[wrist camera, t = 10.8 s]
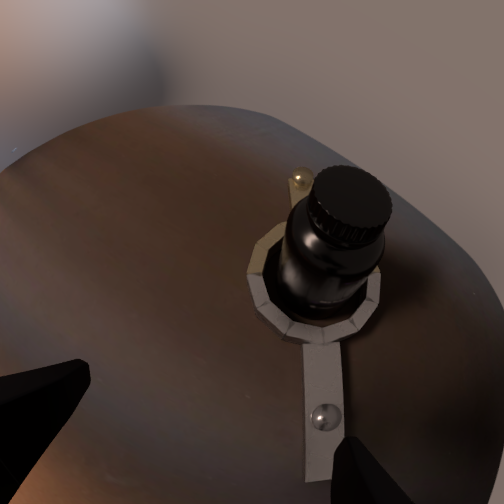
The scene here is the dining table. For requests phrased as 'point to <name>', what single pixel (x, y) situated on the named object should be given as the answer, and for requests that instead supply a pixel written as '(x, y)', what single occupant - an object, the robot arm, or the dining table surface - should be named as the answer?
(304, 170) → the ring with knobbed tab
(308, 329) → the segmented ring handle
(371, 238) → the supplement bottle
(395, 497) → the robot arm
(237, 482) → the dining table surface
